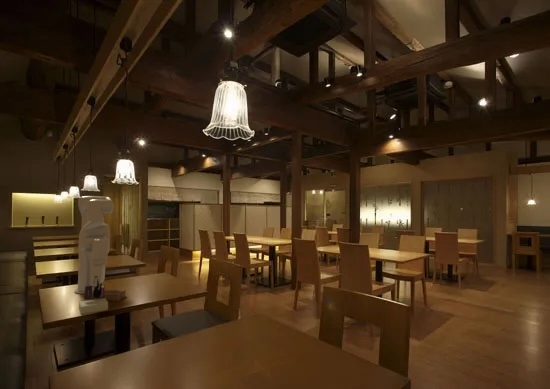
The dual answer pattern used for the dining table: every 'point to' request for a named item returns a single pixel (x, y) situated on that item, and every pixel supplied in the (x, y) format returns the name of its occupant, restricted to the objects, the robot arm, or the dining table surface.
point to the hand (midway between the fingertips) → (97, 295)
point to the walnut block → (113, 295)
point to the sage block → (93, 305)
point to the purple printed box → (89, 292)
